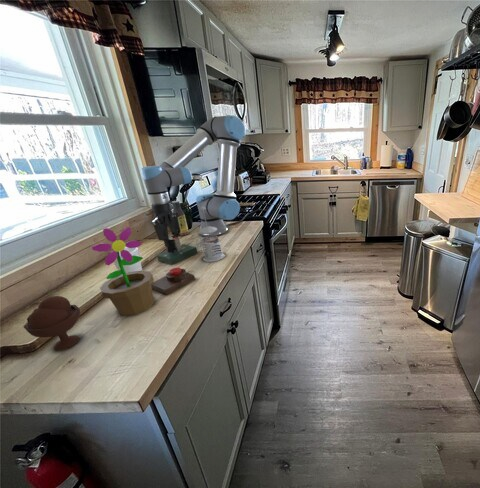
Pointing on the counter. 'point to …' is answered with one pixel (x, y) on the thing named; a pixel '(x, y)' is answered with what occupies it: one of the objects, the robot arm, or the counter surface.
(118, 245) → the flowerpot
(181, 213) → the sauce bottle
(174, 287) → the button block
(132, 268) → the foam cup
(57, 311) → the ice cream bowl
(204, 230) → the french press
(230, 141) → the robot arm
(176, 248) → the gray upright block
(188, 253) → the panel
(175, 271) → the red button
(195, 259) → the counter surface
